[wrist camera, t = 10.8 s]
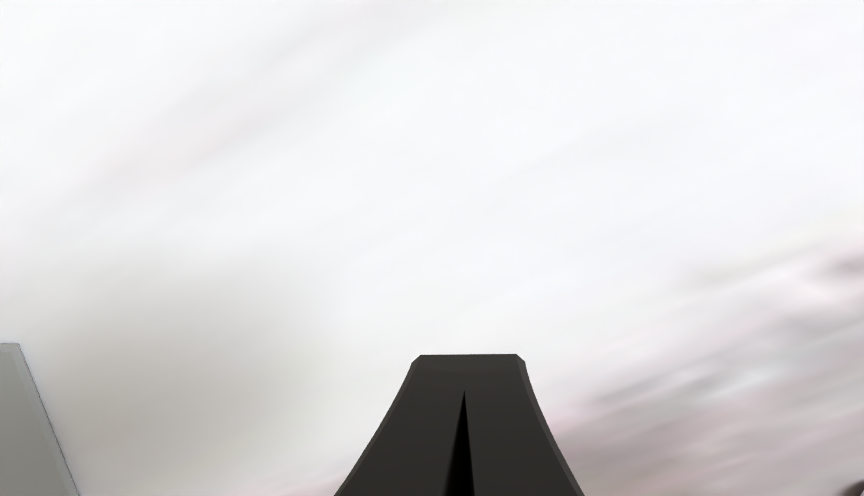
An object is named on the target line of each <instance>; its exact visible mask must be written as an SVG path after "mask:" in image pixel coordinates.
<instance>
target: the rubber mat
mask: <svg viewBox="0 0 864 496" xmlns="http://www.w3.org/2000/svg"><path fill="white" fill-rule="evenodd" d="M0 496H79V495H78V493H77V490H76V488H75V485H74V483H73V480H72V477H71V475H70V472H69V470H68V467H67V465H66V462H65V460H64V457H63V455H62V452H61V450H60V447H59V445H58V442H57V440H56V437H55V435H54V432H53V430H52V427H51V425H50V422H49V420H48V417H47V415H46V412H45V410H44V407H43V405H42V402H41V400H40V397H39V395H38V392H37V389H36V387H35V384H34V382H33V379H32V377H31V374H30V372H29V369H28V367H27V364H26V362H25V359H24V357H23V354H22V352H21V349H20V347H19V344H0Z"/></svg>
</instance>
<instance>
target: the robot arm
mask: <svg viewBox="0 0 864 496" xmlns="http://www.w3.org/2000/svg"><path fill="white" fill-rule="evenodd" d="M334 496H585V495H584V494H583V492H582V490H581V488H580V487H579V485H578V483H577V481H576V479H575V477H574V476H573V474H572V472H571V470H570V468H569V466H568V464H567V463H566V461H565V459H564V457H563V455H562V453H561V451H560V449H559V448H558V446H557V444H556V442H555V440H554V437H553V435H552V433H551V431H550V429H549V427H548V425H547V423H546V420H545V418H544V416H543V414H542V411H541V409H540V407H539V404H538V402H537V399H536V397H535V394H534V392H533V389H532V386H531V383H530V380H529V376H528V373H527V369H526V364H525V361H524V360H522V359H521V358H520V357H519V356H518V355H517V354H470V355H420V356H419V357H418V358H417V359H415V360H414V361H413V362H412V364H411V366H410V369H409V371H408V373H407V376H406V378H405V380H404V382H403V384H402V386H401V388H400V390H399V392H398V394H397V395H396V397H395V399H394V401H393V403H392V405H391V407H390V408H389V410H388V412H387V414H386V415H385V417H384V419H383V421H382V422H381V424H380V426H379V428H378V429H377V431H376V432H375V434H374V436H373V437H372V439H371V440H370V442H369V444H368V445H367V447H366V448H365V450H364V451H363V453H362V455H361V456H360V458H359V459H358V461H357V463H356V464H355V466H354V467H353V469H352V470H351V472H350V473H349V475H348V476H347V478H346V479H345V481H344V482H343V484H342V485H341V487H340V488H339V489H338V491H337V492H336V494H335V495H334ZM861 496H864V490H863V492H862V494H861Z"/></svg>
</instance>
